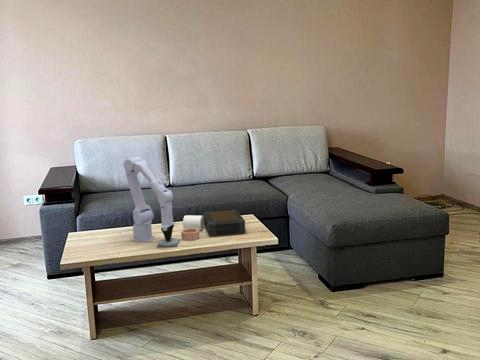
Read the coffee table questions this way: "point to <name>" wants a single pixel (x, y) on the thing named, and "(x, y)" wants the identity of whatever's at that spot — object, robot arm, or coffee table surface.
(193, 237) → the bowl
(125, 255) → the coffee table surface
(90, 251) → the coffee table surface
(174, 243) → the lid
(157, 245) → the mat
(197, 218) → the mug
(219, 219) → the cash box
